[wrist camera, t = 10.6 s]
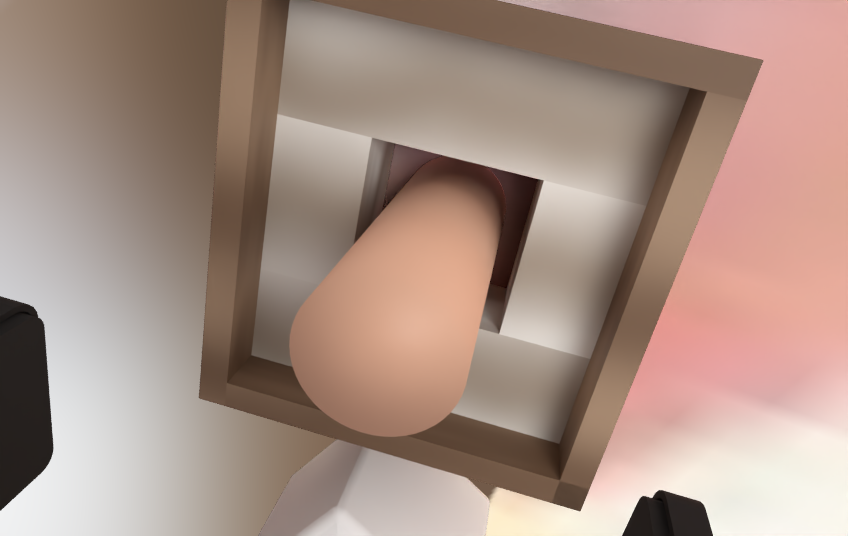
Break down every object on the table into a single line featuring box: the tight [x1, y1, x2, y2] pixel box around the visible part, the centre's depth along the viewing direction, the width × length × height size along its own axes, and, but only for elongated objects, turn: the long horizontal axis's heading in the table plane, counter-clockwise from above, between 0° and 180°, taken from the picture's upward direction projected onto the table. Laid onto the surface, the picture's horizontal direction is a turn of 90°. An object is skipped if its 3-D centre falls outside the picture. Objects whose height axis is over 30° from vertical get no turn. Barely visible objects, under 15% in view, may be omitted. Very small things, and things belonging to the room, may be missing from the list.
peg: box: [289, 156, 506, 437], centre depth 19 cm, size 4×4×12 cm
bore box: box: [199, 0, 763, 511], centre depth 22 cm, size 15×14×6 cm
